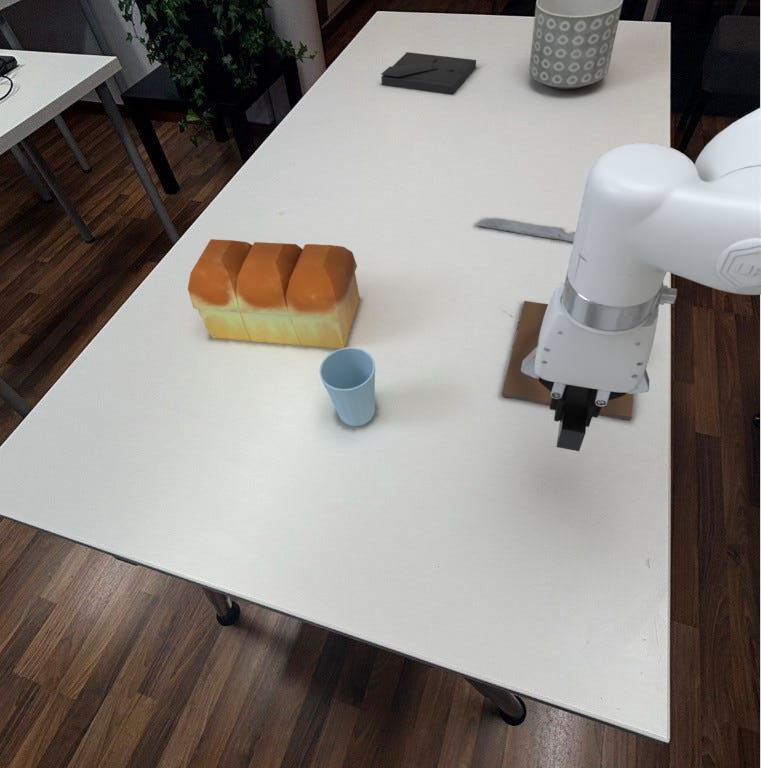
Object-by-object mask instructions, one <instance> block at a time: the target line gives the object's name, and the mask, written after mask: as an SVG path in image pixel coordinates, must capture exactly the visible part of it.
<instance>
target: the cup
mask: <svg viewBox="0 0 761 768" xmlns="http://www.w3.org/2000/svg"><path fill="white" fill-rule="evenodd" d="M319 377H320V379H321V381H322V384H323V386H324V388H325V390H326V391H327V393H328V396H329V398H330V400H331V402H332V404H333V407H334V408H335V410H336V413H337V414H338V417H339V418H340V420H341V422H343V423H344V424H346V425H347V426H350V427H361V426H364V425H366V424H367V423H369V422H370V421H371V420H372V419H373V417H374V415H375V413H376V412H375V411H376V383H375V382H376V363H375V360H374V358H373V356H372V355H371V354H370V353H369V352H368V351H366V350H364V349H362V348H358V347H350V346H349V347H345V348H342V349H336V350H334V351H331V353H329V354H328V355H326V356H325V357H324V358H323V360H322V362H321V363H320V366H319Z"/></svg>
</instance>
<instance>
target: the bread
mask: <svg viewBox="0 0 761 768" xmlns="http://www.w3.org/2000/svg"><path fill="white" fill-rule="evenodd" d="M357 267H358V265H357V262H356V259H355V255H354V253H353V251H352V250H350V249H348V248H346V247H345V246H342V245H334V244H316V243H307V244H304V246H303V248H302V247H301V246H299V245H298V244H296V243H281V242H262V241H261V242H260V241H259V242H258V241H254V242H253V244H252V243H249V242H247V241H241V240H234V239H215V238H210V239H209V240H208V243H207V244H206V247H205V248H204V249H203V251H202V253H201V255H200V256H199V258H198V260H197V262H196V263H195V265H194V266H193V268H192V270H191V271H190V274H189V280H188V284H187V285H188V286H187V292H188V295H189V298H190V301H191V305H192V308H193V309H195V310H197V311H198V313H199V315H200V318H201V319H202V321H203V323H204V325H205V327H206V329H207V331H208V333H209V336H210V338H213V339H224V340H233V341H235V340H236V341H246V342H256V343H257V342H259V343H269V344H280V345H291V346H302V347H315V348H326V349H336V350H338V349H342V348H346V346H347V345H346V344H347V342H348V338H349V335H350V333H351V330H352V326H353V322H354V320H355V316H356V314H357V310H358V307H359V304H360V301H361V299H360V298H361V297H360V292H359V285H358V282H357V276H356V270H357Z"/></svg>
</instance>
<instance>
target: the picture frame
mask: <svg viewBox="0 0 761 768" xmlns="http://www.w3.org/2000/svg"><path fill="white" fill-rule="evenodd" d="M476 69H477V59H473V58H472V59H470V58H463V57H455V56H446V55H445V56H444V55H436V54H428V53H427V54H426V53H419V52H409V51H406V52H405V53H404V54H403V55H402V56H401V57H400V58H399V60H397V61H396V62H395V63H394V64H393V65H392V66H388V68H386V69H385V70H383V72H381V73H380V75H381V79H380V80H381V85H382V86H388V87H395V88H402V89H409V90H416V91H422V92H423V91H424V92H431V93H438V94H445V95H454V94H455V93H456V92H457V91H458V89H459V88H460V87H461V86H462V85H463V84H464V82H465V81H467V79H468V78H469V77H470V76H471V75H472V73H473V72H474V71H475V70H476Z"/></svg>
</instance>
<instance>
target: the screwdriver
mask: <svg viewBox="0 0 761 768" xmlns="http://www.w3.org/2000/svg"><path fill="white" fill-rule="evenodd" d="M588 397H589V388H586V387H580V386H574V385H568V390H567V398H566V404H565V406H564V409H563V413H562V417H561V420H560V421H559V422H558V423H559V424H558V430H557V431H558V432H557V433H558V434H557V440H556V448H559V449H564V450H568V451H575V452H580V451H581V448H582V445H583V442H584V439H585V436H586V433H587V432H586V431H587V427H586V423H587V412H588V410H587V407H588Z"/></svg>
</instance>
